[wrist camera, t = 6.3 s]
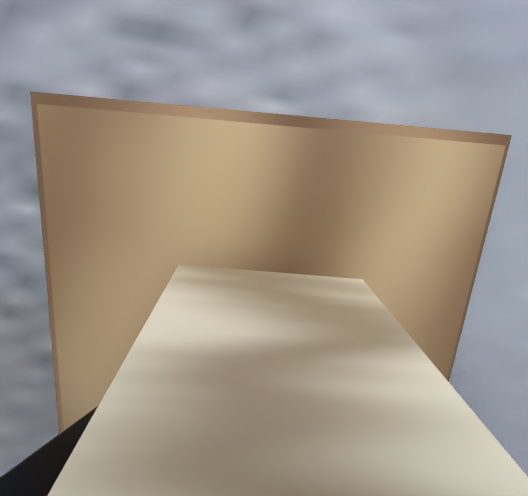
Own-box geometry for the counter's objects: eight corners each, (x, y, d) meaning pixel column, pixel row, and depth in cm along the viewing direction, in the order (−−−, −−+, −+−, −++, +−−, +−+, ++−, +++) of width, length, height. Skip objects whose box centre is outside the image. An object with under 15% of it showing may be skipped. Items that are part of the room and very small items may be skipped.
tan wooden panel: (475, 136, 12) (519, 134, 10) (401, 458, 15) (423, 503, 13) (62, 99, 11) (23, 90, 9) (84, 447, 15) (60, 493, 13)
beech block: (362, 279, 10) (594, 557, 3) (334, 429, 11) (459, 841, 5) (178, 264, 10) (21, 540, 3) (172, 420, 11) (55, 850, 4)
